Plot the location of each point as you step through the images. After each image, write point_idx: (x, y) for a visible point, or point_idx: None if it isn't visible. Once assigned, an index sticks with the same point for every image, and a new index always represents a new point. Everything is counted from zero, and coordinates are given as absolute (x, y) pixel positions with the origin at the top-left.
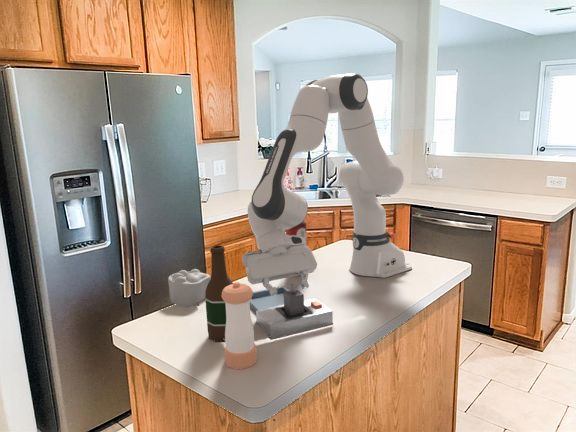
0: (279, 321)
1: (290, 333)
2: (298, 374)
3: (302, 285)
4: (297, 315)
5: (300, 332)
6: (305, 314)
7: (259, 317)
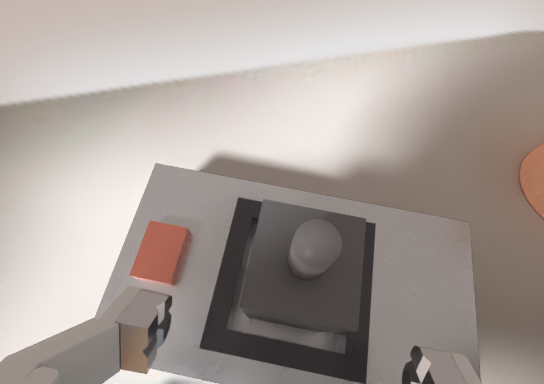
0: (415, 227)
1: None
2: (438, 56)
3: (156, 335)
4: None
5: None
6: None
7: None
